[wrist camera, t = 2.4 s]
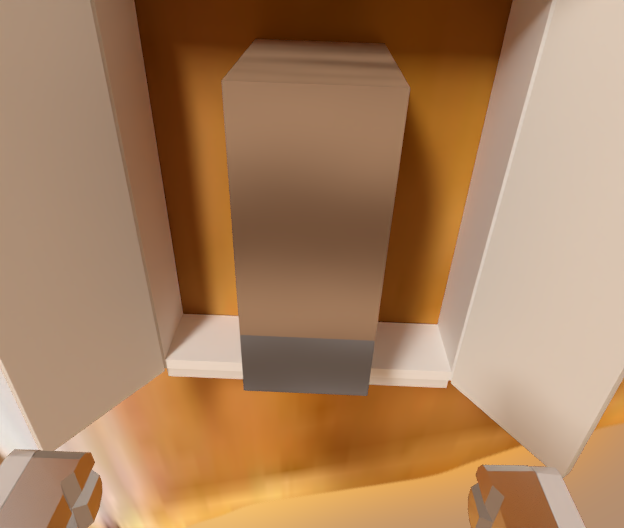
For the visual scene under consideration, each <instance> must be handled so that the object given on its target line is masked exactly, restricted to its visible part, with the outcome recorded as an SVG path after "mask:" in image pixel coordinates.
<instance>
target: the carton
mask: <svg viewBox="0 0 624 528" xmlns="http://www.w3.org/2000/svg"><path fill="white" fill-rule="evenodd" d="M0 368H1V370H2V373H3V375H4V377H5V379H6V381H7V383H8V385H9V387H10V389H11V392H12V394H13V396H14V398H15V400H16V402H17V404H18V406H19V409H20V411H21V413H22V415H23V417H24V419H25V421H26V423H27V426H28V428H29V430H30V432H31V434H32V436H33V438H34V440H35V443H36V445H37V447H38V449H39V450H42V451H54V450H56V449H57V448H58V447H60V446H61V445H63V444H64V443H65V442H67V441H68V440H69V439H71V438H72V437H74V436H75V435H76V434H78V433H79V432H81V431H82V430H83V429H85V428H86V427H87V426H89V425H90V424H92V423H93V422H94V421H96V420H97V419H99V418H100V417H101V416H103V415H104V414H105V413H107V412H108V411H110V410H111V409H112V408H114V407H115V406H117V405H118V404H119V403H121V402H122V401H123V400H125V399H126V398H128V397H129V396H130V395H132V394H133V393H135V392H136V391H137V390H139V389H140V388H142V387H143V386H144V385H146V384H147V383H148V382H150V381H151V380H153V379H154V378H155V377H157V376H158V375H160V374H161V373H162V372H164V371H165V370H164V368H167V370H168V375H169V376H181V377H204V378H227V379H243V370H242V357H241V343H240V329H239V316H225V315H201V314H183V309H182V303H181V296H180V290H179V284H178V277H177V271H176V264H175V258H174V252H173V245H172V239H171V232H170V226H169V220H168V213H167V207H166V200H165V194H164V188H163V181H162V175H161V168H160V162H159V156H158V149H157V143H156V136H155V130H154V124H153V117H152V111H151V104H150V98H149V92H148V85H147V79H146V72H145V66H144V60H143V53H142V47H141V40H140V34H139V28H138V21H137V15H136V8H135V2H134V0H0ZM623 378H624V0H513V1H512V6H511V10H510V14H509V19H508V23H507V27H506V32H505V36H504V40H503V44H502V49H501V53H500V57H499V62H498V66H497V70H496V75H495V79H494V83H493V88H492V92H491V96H490V100H489V105H488V109H487V113H486V118H485V122H484V126H483V131H482V135H481V139H480V144H479V148H478V152H477V157H476V161H475V165H474V169H473V174H472V178H471V182H470V187H469V191H468V195H467V200H466V204H465V208H464V213H463V217H462V221H461V225H460V230H459V234H458V238H457V243H456V247H455V251H454V256H453V260H452V264H451V269H450V273H449V277H448V281H447V286H446V290H445V294H444V299H443V303H442V307H441V312H440V316H439V320H438V324H415V323H391V322H378V323H377V330H376V337H375V345H374V352H373V359H372V366H371V373H370V380H369V385H389V386H413V387H436V388H447V384H448V380H451V384H452V385H453V386H455V387H456V388H457V389H458V390H459V391H460V392H461V393H463V394H464V395H465V396H466V397H467V398H468V399H470V400H471V401H472V402H473V403H474V404H475V405H476V406H478V407H479V408H480V409H481V410H482V411H483V412H485V413H486V414H487V415H488V416H489V417H490V418H491V419H493V420H494V421H495V422H496V423H497V424H498V425H500V426H501V427H502V428H503V429H504V430H505V431H506V432H508V433H509V434H510V435H511V436H512V437H513V438H514V439H516V440H517V441H518V442H519V443H520V444H521V445H523V446H524V447H525V448H526V449H527V450H528V451H529V452H531V453H532V454H533V455H534V456H535V457H536V458H538V459H539V460H540V461H541V462H542V463H543V464H545V465H546V466H547V467H554V468H556V469H557V470H558V471H559V472H560V474H561V476H562V478H564V477H565V476H566V475H568V474H569V473H570V472H571V470H572V468H573V467H574V465H575V463H576V461H577V459H578V458H579V456H580V454H581V452H582V451H583V449H584V447H585V445H586V444H587V442H588V440H589V438H590V436H591V435H592V433H593V431H594V429H595V428H596V426H597V424H598V422H599V420H600V419H601V417H602V415H603V413H604V412H605V410H606V408H607V406H608V405H609V403H610V401H611V399H612V397H613V396H614V394H615V392H616V390H617V389H618V387H619V385H620V383H621V381H622V380H623Z"/></svg>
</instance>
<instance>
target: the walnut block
mask: <svg viewBox="0 0 624 528" xmlns="http://www.w3.org/2000/svg"><path fill="white" fill-rule="evenodd" d="M221 82H222V95H223V109H224V123H225V137H226V150H227V164H228V178H229V192H230V205H231V219H232V233H233V247H234V260H235V274H236V288H237V302H238V315H239V329H240V343H241V357H242V370H243V384H244V390H248V391H271V392H293V393H316V394H338V395H361V396H367V395H368V388H369V380H370V373H371V366H372V359H373V352H374V345H375V337H376V330H377V323H378V316H379V309H380V302H381V294H382V287H383V280H384V273H385V266H386V259H387V251H388V244H389V237H390V230H391V223H392V216H393V208H394V201H395V194H396V187H397V180H398V173H399V165H400V158H401V151H402V144H403V137H404V129H405V122H406V115H407V108H408V101H409V94H410V87H409V85H408V83H407V81H406V80H405V78H404V76H403V74H402V73H401V71H400V69H399V67H398V66H397V64H396V62H395V60H394V59H393V57H392V55H391V54H390V52H389V50H388V48H387V47H386V45H385V43H360V42H333V41H306V40H280V39H255V40H254V41H253V42H252V44H251V45H250V46H249V47H248V49H247V50H246V51H245V52H244V54H243V55H242V56H241V57H240V58H239V60H238V61H237V62H236V63H235V65H234V66H233V67H232V68H231V70H230V71H229V72H228V73H227V74H226V76H225V77H224V78H223V79H222V81H221Z"/></svg>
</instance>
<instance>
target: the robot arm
mask: <svg viewBox="0 0 624 528" xmlns="http://www.w3.org/2000/svg"><path fill="white" fill-rule="evenodd" d="M94 463H95V461H94V459H93V457H92V454H91V453H89V452H64V451H42V450H18V449H15V450H13V451H12V452H11V453H10V454H9V455H8V456H7V457H6V458H5V459H4V461H3V463H2V464H1V466H0V528H87V527H89V526H90V525H91V524H92V523H93V522H94V520H95V518H96V515H97V512H98V510H99V507H100V502H101V497H102V481H101V478H100V475H99V474H97V473H96V472H94V471H93V470H92V468H93V465H94ZM476 477H477V481H478V483H477V484H476V485H474V486H472V487H471V489H470V493H469V496H468V514H469V521H470V525H471V528H586V526H585V524H584V522H583V520H582V518H581V516H580V514H579V512H578V510H577V507H576V505H575V503H574V501H573V499H572V497H571V495H570V493H569V490H568V488H567V486H566V484H565V482H564V480H563V478H562V476H561V474H560V472H559V471H558V470H557V469H556V468H554V467H539V466H524V465H522V466H521V465H520V466H519V465H481V466H480V467H479V468H478V470H477V473H476Z"/></svg>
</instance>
